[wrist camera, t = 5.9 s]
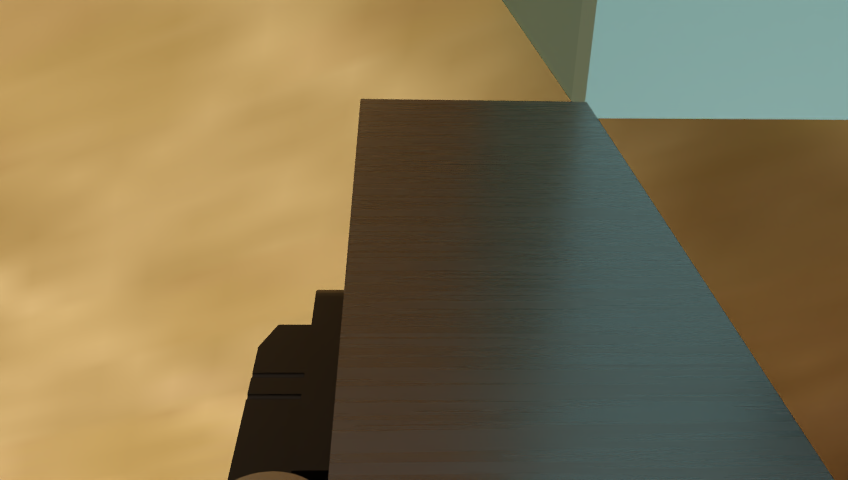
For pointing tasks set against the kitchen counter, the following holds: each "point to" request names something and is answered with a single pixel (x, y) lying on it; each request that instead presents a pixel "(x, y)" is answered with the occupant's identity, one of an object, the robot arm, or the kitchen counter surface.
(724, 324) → the brushed metal block
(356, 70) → the kitchen counter surface
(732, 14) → the coin box
